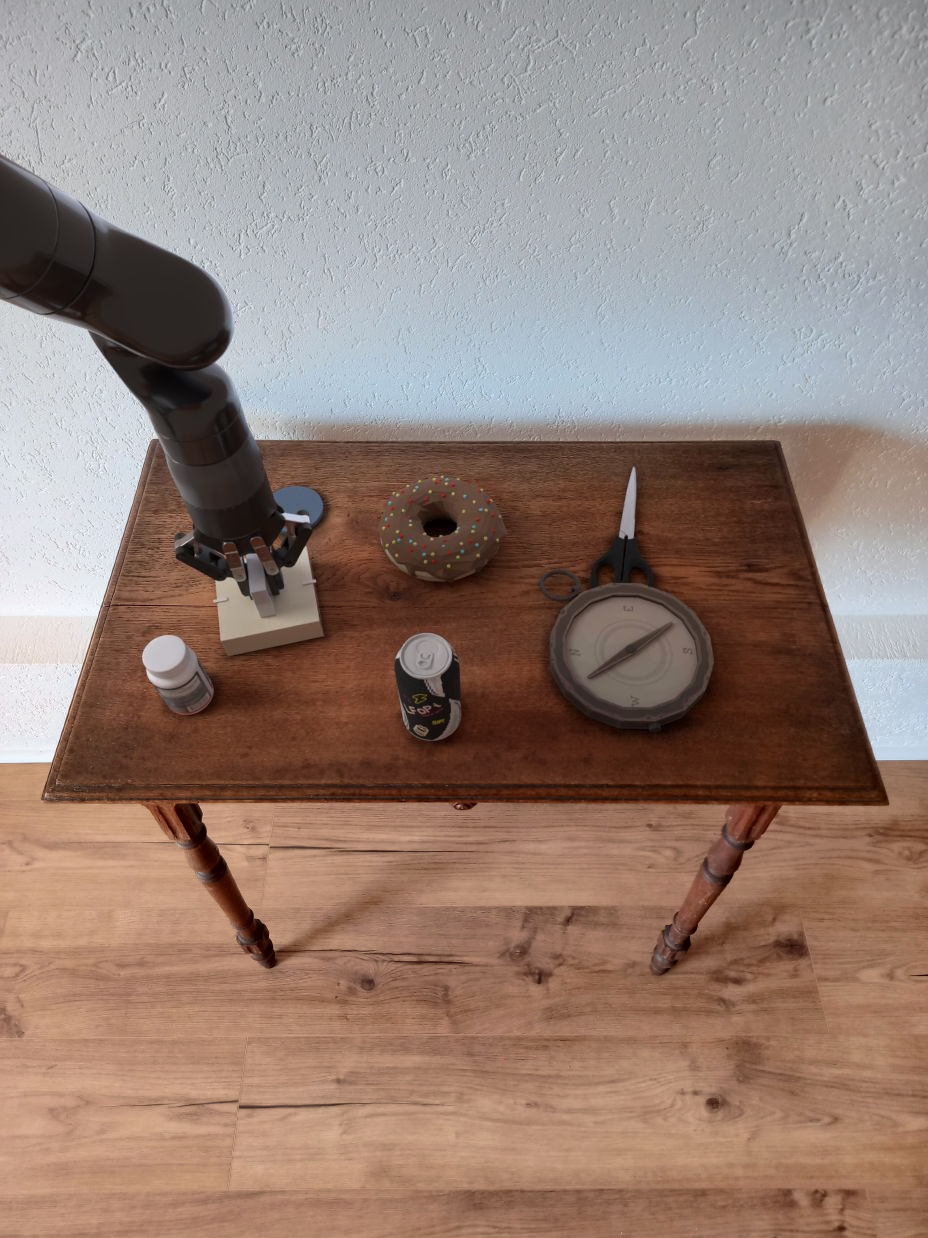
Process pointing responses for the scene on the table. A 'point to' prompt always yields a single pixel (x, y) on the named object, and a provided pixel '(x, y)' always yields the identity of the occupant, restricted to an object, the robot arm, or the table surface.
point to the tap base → (287, 626)
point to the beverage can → (429, 686)
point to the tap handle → (260, 587)
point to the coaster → (300, 502)
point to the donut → (445, 553)
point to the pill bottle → (177, 675)
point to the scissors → (631, 551)
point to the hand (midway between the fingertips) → (265, 590)
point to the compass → (628, 654)
